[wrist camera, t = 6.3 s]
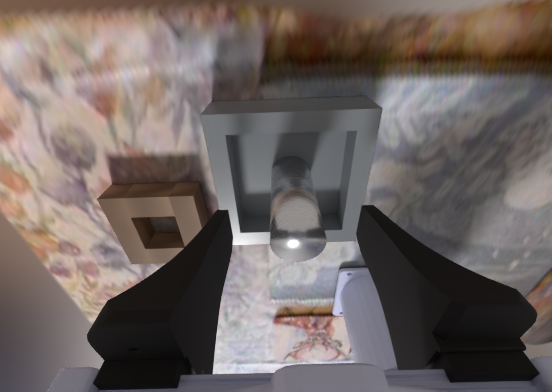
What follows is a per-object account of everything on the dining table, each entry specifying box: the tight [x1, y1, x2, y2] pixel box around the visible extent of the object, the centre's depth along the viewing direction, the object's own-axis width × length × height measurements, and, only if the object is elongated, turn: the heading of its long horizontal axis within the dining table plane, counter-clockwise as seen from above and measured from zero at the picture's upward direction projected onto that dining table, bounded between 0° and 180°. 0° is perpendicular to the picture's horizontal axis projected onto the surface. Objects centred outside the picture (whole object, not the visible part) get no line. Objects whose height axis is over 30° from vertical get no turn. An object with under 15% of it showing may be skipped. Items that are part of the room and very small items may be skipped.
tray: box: [200, 96, 382, 245], centre depth 18 cm, size 10×10×3 cm
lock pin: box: [270, 156, 327, 262], centre depth 15 cm, size 3×3×7 cm
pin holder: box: [97, 182, 209, 264], centre depth 21 cm, size 7×7×2 cm
